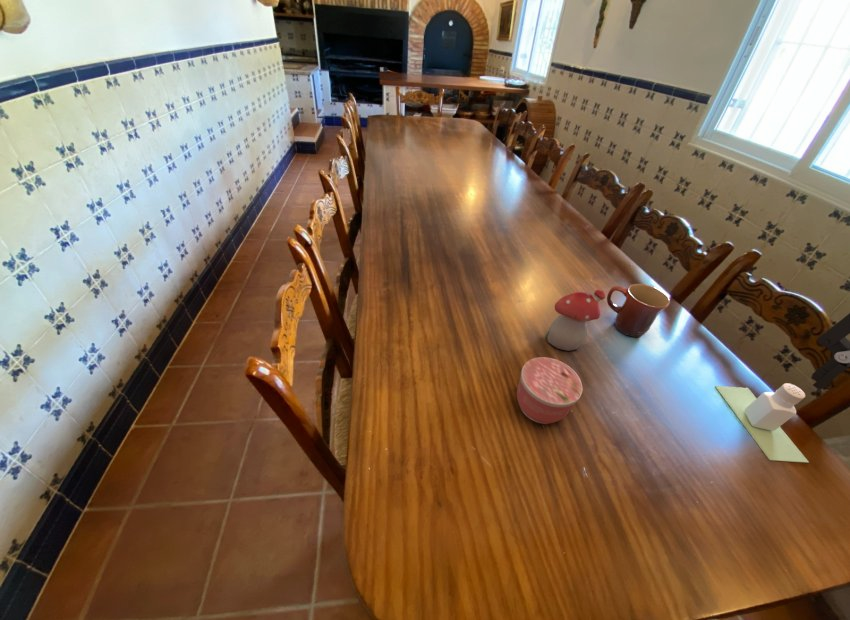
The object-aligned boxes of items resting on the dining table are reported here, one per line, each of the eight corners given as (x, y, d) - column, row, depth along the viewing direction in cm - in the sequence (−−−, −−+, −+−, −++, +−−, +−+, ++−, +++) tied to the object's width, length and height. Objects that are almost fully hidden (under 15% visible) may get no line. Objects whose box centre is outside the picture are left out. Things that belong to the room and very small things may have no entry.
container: (537, 440, 62) (551, 414, 57) (500, 395, 69) (509, 368, 64) (579, 416, 66) (595, 390, 61) (540, 376, 73) (552, 349, 68)
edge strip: (808, 462, 62) (809, 462, 62) (769, 460, 62) (770, 460, 62) (747, 388, 74) (748, 387, 74) (714, 386, 74) (715, 385, 74)
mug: (651, 326, 88) (672, 293, 81) (644, 346, 82) (667, 313, 75) (601, 306, 93) (617, 274, 86) (592, 324, 87) (609, 290, 80)
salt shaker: (764, 414, 69) (800, 384, 63) (774, 432, 66) (813, 402, 60) (741, 409, 70) (775, 379, 64) (750, 427, 67) (787, 396, 61)
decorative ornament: (584, 339, 83) (610, 287, 73) (583, 358, 78) (611, 305, 68) (543, 327, 85) (563, 275, 75) (540, 345, 80) (562, 293, 70)
